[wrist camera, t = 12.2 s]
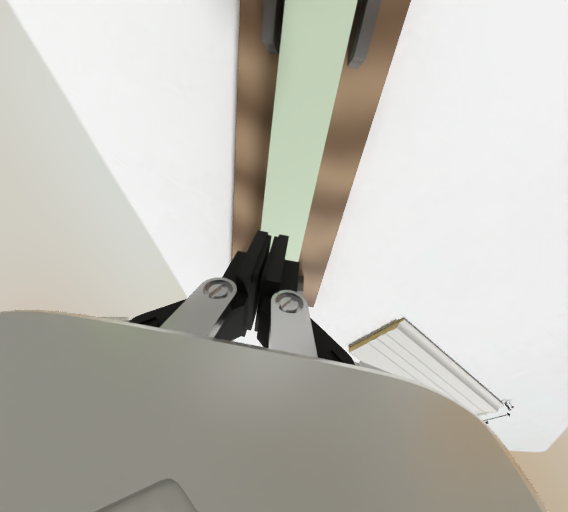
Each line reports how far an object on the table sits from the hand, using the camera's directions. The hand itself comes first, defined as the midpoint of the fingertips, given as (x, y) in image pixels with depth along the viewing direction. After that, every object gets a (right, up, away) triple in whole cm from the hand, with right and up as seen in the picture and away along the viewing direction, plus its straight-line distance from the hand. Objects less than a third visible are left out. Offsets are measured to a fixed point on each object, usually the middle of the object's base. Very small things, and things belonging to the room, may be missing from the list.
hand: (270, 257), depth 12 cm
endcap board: (+2, +8, +12) cm, 15 cm away
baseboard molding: (+27, -21, +28) cm, 44 cm away
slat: (+2, +7, +11) cm, 13 cm away
